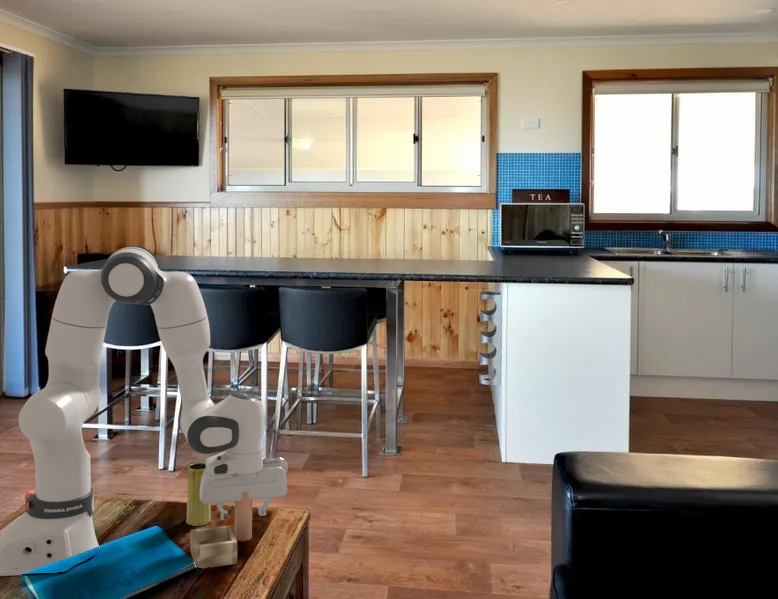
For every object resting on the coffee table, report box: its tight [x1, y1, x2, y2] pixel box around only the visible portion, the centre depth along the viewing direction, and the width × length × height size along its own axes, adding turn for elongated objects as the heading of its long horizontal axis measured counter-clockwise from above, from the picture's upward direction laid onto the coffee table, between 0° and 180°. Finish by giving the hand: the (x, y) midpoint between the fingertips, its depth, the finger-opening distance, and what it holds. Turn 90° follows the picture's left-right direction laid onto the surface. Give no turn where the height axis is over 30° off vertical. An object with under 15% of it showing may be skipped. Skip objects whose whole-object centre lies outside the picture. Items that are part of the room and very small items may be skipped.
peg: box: [234, 491, 253, 542], centre depth 170 cm, size 4×4×12 cm
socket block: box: [190, 524, 238, 569], centre depth 160 cm, size 9×9×5 cm
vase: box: [185, 462, 212, 527], centre depth 178 cm, size 6×6×14 cm
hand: (243, 516), depth 170 cm, fingers open, 8 cm apart
